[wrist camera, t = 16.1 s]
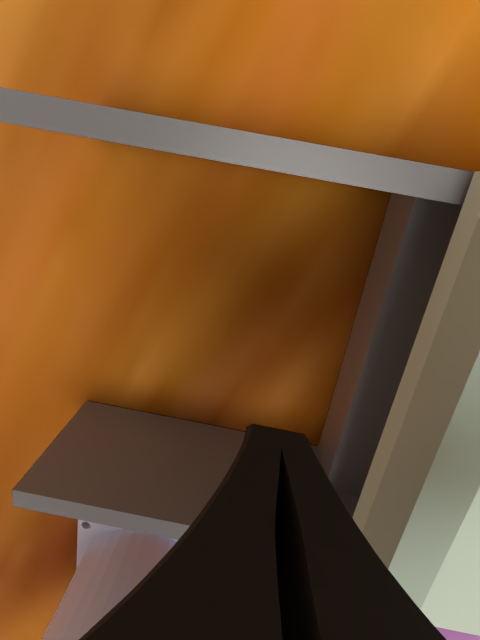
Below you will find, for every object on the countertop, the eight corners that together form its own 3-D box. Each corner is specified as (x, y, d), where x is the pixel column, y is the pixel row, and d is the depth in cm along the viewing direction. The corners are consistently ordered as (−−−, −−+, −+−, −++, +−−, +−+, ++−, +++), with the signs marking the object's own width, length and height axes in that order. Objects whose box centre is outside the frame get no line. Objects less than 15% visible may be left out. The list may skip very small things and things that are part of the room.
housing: (548, 504, 20) (656, 637, 15) (86, 413, 21) (13, 506, 15) (707, 227, 15) (965, 259, 10) (97, 117, 16) (-5, 86, 10)
